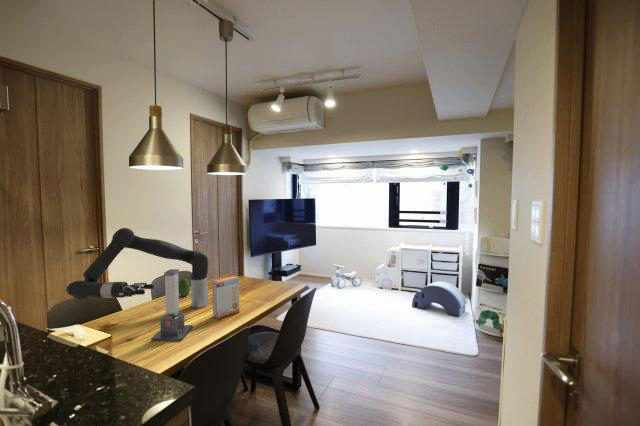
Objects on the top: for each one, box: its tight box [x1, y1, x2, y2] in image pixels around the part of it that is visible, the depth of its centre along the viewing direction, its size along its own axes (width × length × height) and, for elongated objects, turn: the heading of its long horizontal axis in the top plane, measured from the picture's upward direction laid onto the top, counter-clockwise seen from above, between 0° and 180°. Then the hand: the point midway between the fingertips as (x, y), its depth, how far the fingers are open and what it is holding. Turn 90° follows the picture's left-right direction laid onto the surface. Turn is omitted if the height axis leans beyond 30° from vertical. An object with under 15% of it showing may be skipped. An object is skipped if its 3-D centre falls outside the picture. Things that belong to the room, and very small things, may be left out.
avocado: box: [178, 278, 191, 297], centre depth 206 cm, size 8×8×12 cm
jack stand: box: [150, 311, 193, 342], centre depth 149 cm, size 14×14×10 cm
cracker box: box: [211, 275, 241, 320], centre depth 174 cm, size 14×6×21 cm, turn 134°
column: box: [163, 269, 180, 317], centre depth 148 cm, size 6×4×24 cm
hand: (149, 289), depth 148 cm, fingers open, 8 cm apart
